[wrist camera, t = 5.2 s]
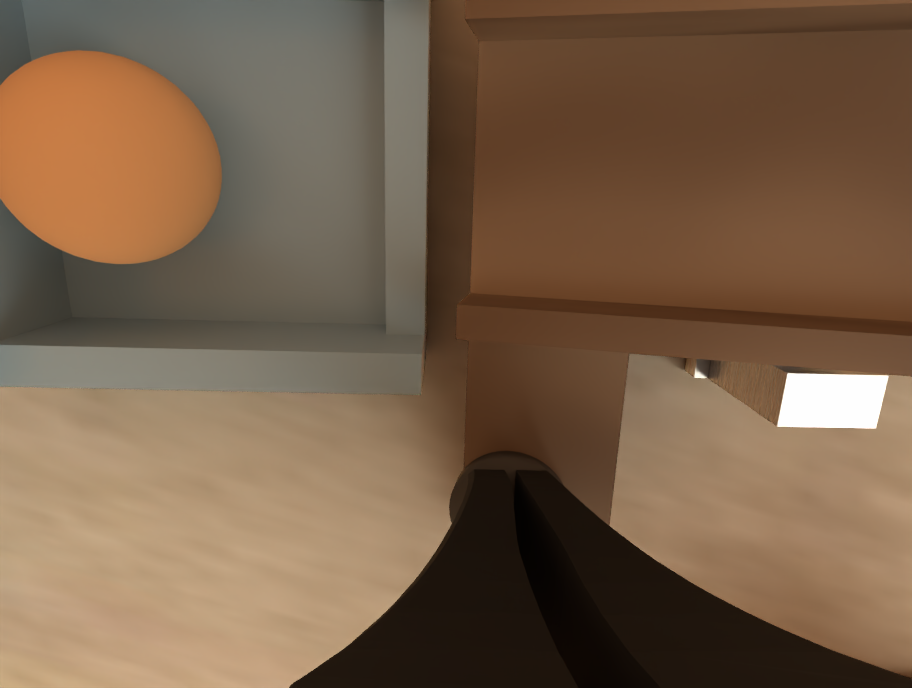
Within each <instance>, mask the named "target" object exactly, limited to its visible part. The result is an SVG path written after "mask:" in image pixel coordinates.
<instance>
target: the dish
mask: <svg viewBox="0 0 912 688" xmlns="http://www.w3.org/2000/svg"><path fill="white" fill-rule="evenodd" d="M430 24H431V0H0V85H1V84H2V83H3V82H4V80H5V79H6V78H7V77H8V76H9V75H11V74H12V73H14V72H15V71H16V70H18V69H19V68H21V67H22V66H23V65H25V64H27V63H29V62H31V61H33V60H35V59H38V58H40V57H43V56H46V55H49V54H53V53H58V52H65V51H75V50H82V51H99V52H105V53H109V54H113V55H118V56H122V57H125V58H128V59H130V60H133V61H136V62H138V63H140V64H143V65H145V66H147V67H149V68H150V69H152V70H154V71H156V72H158V73H159V74H161V75H162V76H164V77H165V78H167V79H168V80H169V81H171V82H172V83H173V84H175V85H176V86H177V87H178V88H179V89H180V90H181V91H182V92H183V93H184V94H185V95H186V96H187V97H188V98H189V99H190V100H191V101H192V102H193V103H194V104H195V106H196V107H197V108H198V109H199V111H200V112H201V114H202V116H203V117H204V119H205V120H206V122H207V123H208V125H209V127H210V129H211V131H212V133H213V135H214V138H215V141H216V143H217V146H218V150H219V154H220V159H221V167H222V184H221V192H220V196H219V200H218V203H217V206H216V209H215V211H214V213H213V215H212V217H211V219H210V220H209V222H208V223H207V225H206V226H205V227H204V229H203V230H202V231H201V232H200V233H199V234H198V235H197V236H196V238H194V239H193V240H192V241H191V242H189V243H188V244H187V245H185V246H184V247H183V248H181V249H179V250H177V251H175V252H174V253H172V254H169V255H167V256H165V257H162V258H159V259H156V260H152V261H148V262H142V263H134V264H111V263H103V262H95V261H92V260H88V259H84V258H81V257H77V256H74V255H72V254H69V253H67V252H64V251H62V250H60V249H58V248H56V247H54V246H52V245H50V244H49V243H47V242H45V241H44V240H42V239H41V238H39V237H38V236H36V235H35V234H34V233H32V232H31V231H30V230H28V229H27V228H26V227H25V226H24V225H23V224H22V223H21V222H20V221H19V220H18V219H17V218H16V217H15V216H14V215H13V214H12V213H11V212H10V210H9V209H8V208H7V207H6V206H5V204H4V203H3V201H2V200H1V199H0V387H41V388H91V389H141V390H191V391H241V392H291V393H341V394H391V395H421V391H422V383H423V375H424V367H425V359H426V303H427V233H428V163H429V94H430Z"/></svg>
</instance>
